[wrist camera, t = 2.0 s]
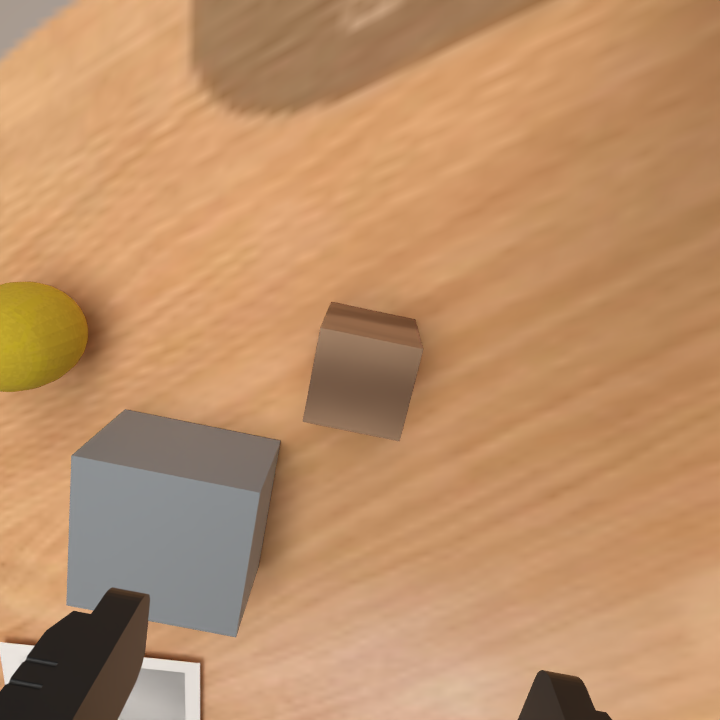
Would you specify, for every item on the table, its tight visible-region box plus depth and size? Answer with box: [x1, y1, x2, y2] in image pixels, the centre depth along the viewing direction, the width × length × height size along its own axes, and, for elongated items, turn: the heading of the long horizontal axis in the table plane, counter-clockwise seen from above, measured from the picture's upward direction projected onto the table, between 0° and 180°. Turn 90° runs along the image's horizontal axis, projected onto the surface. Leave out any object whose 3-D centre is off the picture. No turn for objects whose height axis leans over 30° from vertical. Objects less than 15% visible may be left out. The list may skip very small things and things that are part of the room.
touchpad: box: [0, 642, 200, 720], centre depth 40 cm, size 8×15×2 cm, turn 84°
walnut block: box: [303, 302, 423, 441], centre depth 28 cm, size 5×5×6 cm
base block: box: [67, 409, 281, 637], centre depth 32 cm, size 10×10×6 cm
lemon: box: [0, 282, 88, 392], centre depth 27 cm, size 6×6×8 cm
